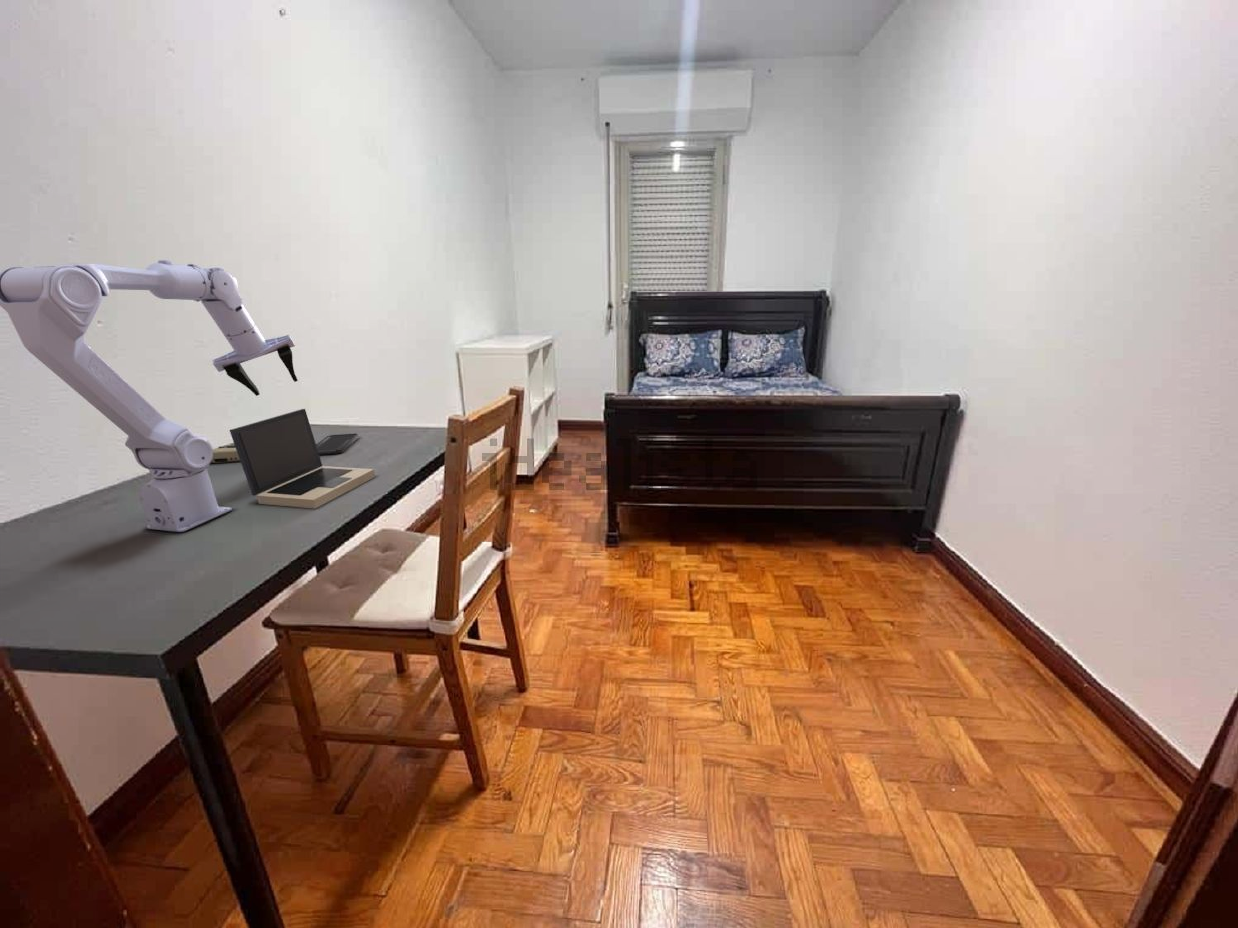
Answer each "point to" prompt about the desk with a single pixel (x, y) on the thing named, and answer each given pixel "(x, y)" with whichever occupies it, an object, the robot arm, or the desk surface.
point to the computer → (225, 454)
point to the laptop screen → (276, 450)
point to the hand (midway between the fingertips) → (276, 386)
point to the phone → (336, 443)
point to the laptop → (316, 487)
